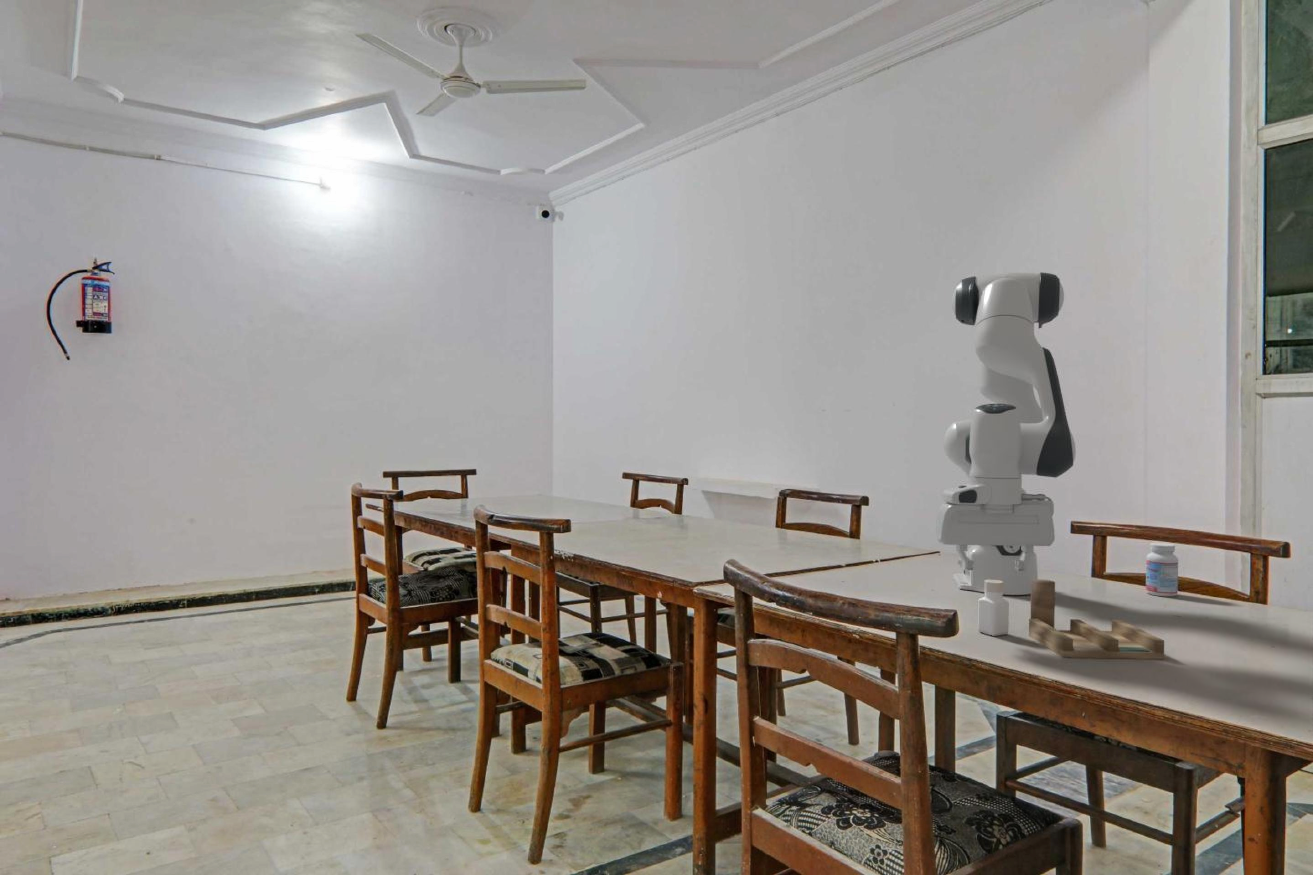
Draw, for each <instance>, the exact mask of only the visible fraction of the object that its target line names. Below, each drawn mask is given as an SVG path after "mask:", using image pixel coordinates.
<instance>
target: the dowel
mask: <svg viewBox="0 0 1313 875" xmlns="http://www.w3.org/2000/svg"><path fill="white" fill-rule="evenodd" d="M1055 599H1056V581H1053V580H1049V579H1039V578H1038V579H1035V580H1031V594H1030V619H1039V620H1041V621H1042V622H1044V623H1046V624H1048V625H1049V626H1051V627H1053V628H1054V629H1055V607H1056V600H1055Z"/></svg>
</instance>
